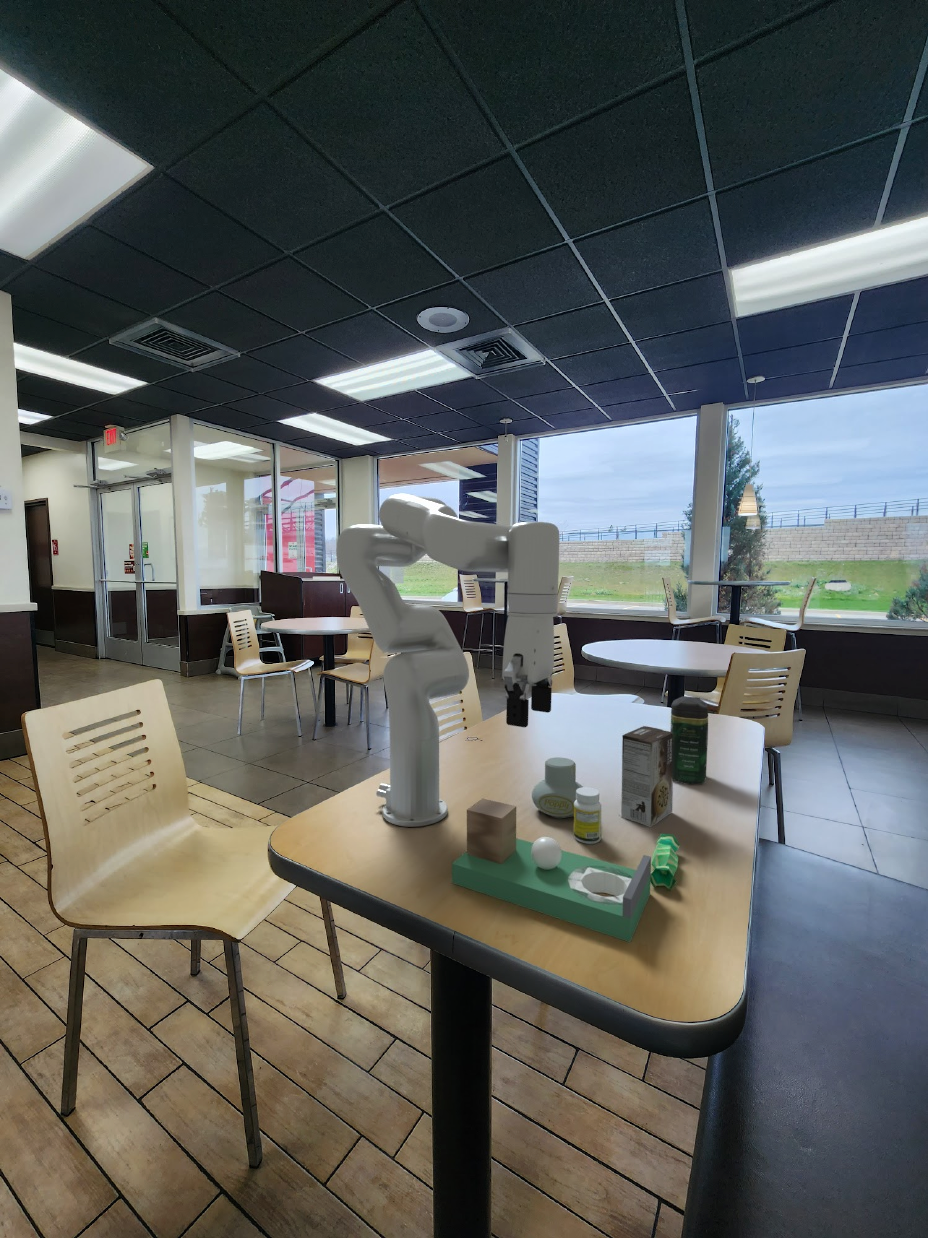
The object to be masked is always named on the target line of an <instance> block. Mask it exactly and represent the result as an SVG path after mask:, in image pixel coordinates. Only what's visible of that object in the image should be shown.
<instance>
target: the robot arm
mask: <svg viewBox="0 0 928 1238" xmlns="http://www.w3.org/2000/svg"><path fill="white" fill-rule="evenodd" d="M378 519H379V522H380V524H369V523H368V524H366V523H365V524H354V525H351V526H348V527H345V529H343V530H342V531H341V532H340V534H339V535H338V538H337V541H336V550H335V552H336V555H335V556H336V562H337V567H338V569H339V573H340V575H341V577H342V579H343V581H344V583H345V584H346V586H347V588H348V589H349V591H350V592H351V593H352V596H354V598H355V600H356V601H357V603H358V606H359V608H360V611H361V613H362V616H363V617H364V620H365V622H366V625H367V627H368V629H369V633H370V635H371V636H372V638H373V640H374V642H375V645H376V647H377V648H378V649H379V650H380V651H382V652H384V653H387V654H396V655H394V656H393V657H392V658H390V659H388V661H387V663H386V664H385V666H384V668H383V673H382V674H383V675H382V676H383V677H382V678H383V684H384V685H383V686H384V690H385V694H386V701H387V707H388V708H387V709H388V718H389V719H388V721H389V722H388V723H389V724H388V725H389V727H388V728H389V730H388V731H389V783H385V782H381V783H380V784H379V786H378V787H379V788H378V789H377V790H376V796H377V797H379V798H383V799H385V804H384V805H383V807H382V810H381V811H382V814H383V815H382V817H383V818H385V819H386V820H385V819H384V820H385V821H387V822H388V823H390V824H392V825H395V826H399V827H400V826H401V827H407V828H408V827H409V828H410V827H411V828H412V827H413V828H414V827H424V826H430V825H432V824H433V825H434V824H436V823H438V822H440V821H442V820H443V819H445V818H446V816H447V815H448V804H447V802H446V801H444V800H442V799H441V798H440V722H439V719H438V716H437V714H436V712H435V710H434V709H433V707H432V705H431V703H430V700H432V699H435V698H442V697H446V696H451V695H455V694H458V693H460V692H462V691H463V690H464V689H465V688H466V686H467V685H468V682H469V678H470V669H469V664H468V661H467V658H466V657H465V654H464V651H463V650H462V648H461V646H460V644H459V642H458V639H457V638H456V636H455V634H454V632H453V630H452V628H451V626H450V624H449V622H448V620H447V619H446V617H445V616H444V614H443V613H442V612H441V611H440V610H439V609H437V608H436V607H434V606H431V605H427V604H418V605H417V604H416V605H415V604H414V605H411V604H408V603H407V602H405V601H404V600H403V598H402V597H401V596H402V595H401V594H400V592H399V589H398V587H397V585H395V582H393V580H391V578H389V576H388V575H386V574H385V573H383V571H381V570H380V569H379V568H378V567H390V568H392V567H394V568H395V567H397V568H401V567H403V568H404V567H405V568H406V567H409V566H412V565H415V564H416V563H417V562H418V561H420V560H421V559H422V558H424V556H425V555H427V557H429V558H430V559H431V560H432V561H436V562H438V563H440V564H443V565H445V566H448V567H450V568H453V569H456V570H459V571H463V572H483V573H484V572H485V573H486V572H487V573H507V595H506V597H507V602H506V605H507V607H506V615H507V620H506V626H505V633H504V640H503V654H502V669H501V674H502V675H501V678H502V680H503V681H504V683H505V684H504V689H505V698H506V717H505V719H506V720H505V722H506V723H505V724H506V725H508V726H513V727H519V728H527V727H528V726H529V709H531V710H532V711H534V712H542V713H551V711H552V696H553V695H552V691H553V688H552V686H553V679H552V676H553V672H554V666H555V665H554V664H555V628H554V618H555V617H558V609H559V607H558V604H559V603H558V601H559V576H560V575H559V568H560V567H559V565H560V531H559V527H558V526H557V525H556V524H553V523H551V522H545V521H524V522H523V521H522V522H517V523H514V524H513V525H505V524H497V523H487V522H480V521H479V522H478V521H471V520H465V519H461V518H458V515H457V513H456V511H455V510H454V509H453V508H452V507H451V506H449V505H447V504H446V503H445V502H444V501H443V500H441V499H438V498H436V497H435V498H434V497H430V496H429V497H428V496H423V495H414V494H408V493H397V494H394V495H390V496H389V497H387V498H386V499H385V500H384V501H383V502H382V503H381V505H380V507H379V511H378ZM398 653H399V654H398ZM530 685H531V691H530V692H531V697H530V700H531V701H529V698H527V696H528V693H529V689H530ZM521 686H522V688H521ZM529 703H530V704H529ZM529 705H530V708H529Z"/></svg>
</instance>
